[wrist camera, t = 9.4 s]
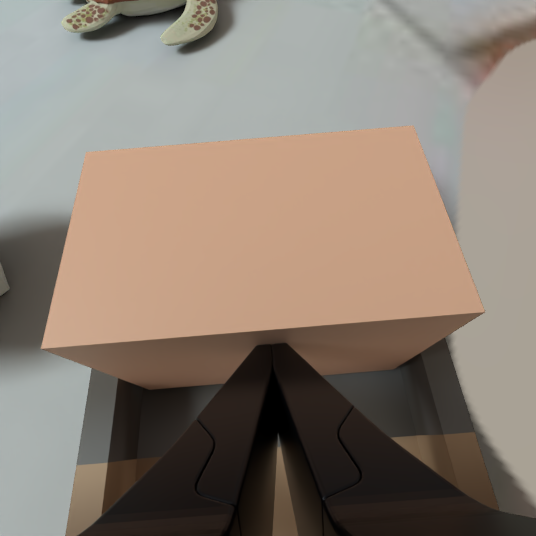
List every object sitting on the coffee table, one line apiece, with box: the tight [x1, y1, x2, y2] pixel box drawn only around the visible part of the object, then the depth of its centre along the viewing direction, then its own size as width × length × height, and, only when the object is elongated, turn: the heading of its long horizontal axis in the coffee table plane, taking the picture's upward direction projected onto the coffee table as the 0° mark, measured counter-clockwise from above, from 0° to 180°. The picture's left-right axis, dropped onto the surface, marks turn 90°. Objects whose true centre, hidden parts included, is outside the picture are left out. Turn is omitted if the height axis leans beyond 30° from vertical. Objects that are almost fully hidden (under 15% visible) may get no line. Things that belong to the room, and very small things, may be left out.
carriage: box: [41, 126, 485, 390], centre depth 12 cm, size 6×10×7 cm, turn 94°
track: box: [65, 338, 500, 536], centre depth 14 cm, size 19×13×4 cm
